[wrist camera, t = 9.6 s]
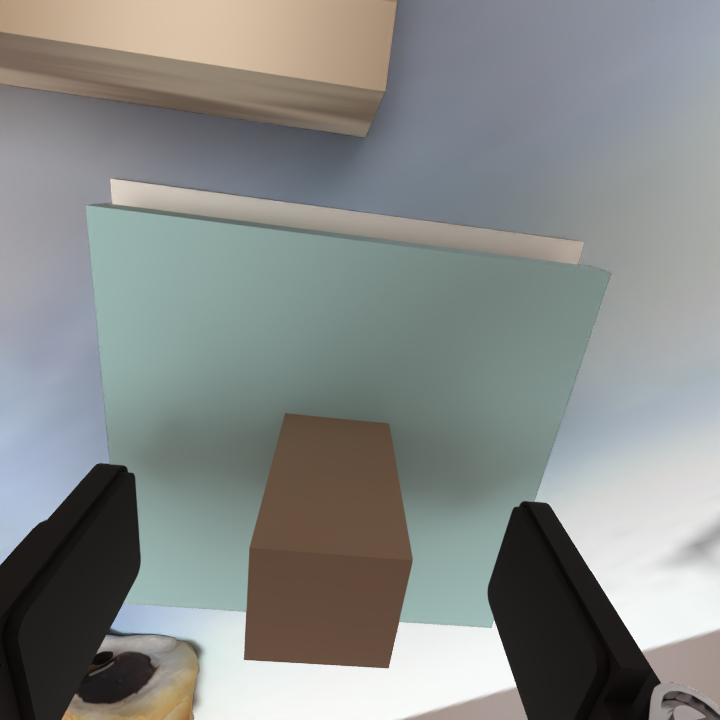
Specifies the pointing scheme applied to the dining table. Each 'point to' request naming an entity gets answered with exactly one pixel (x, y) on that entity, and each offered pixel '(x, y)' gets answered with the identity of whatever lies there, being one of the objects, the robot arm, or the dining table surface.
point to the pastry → (137, 680)
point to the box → (209, 56)
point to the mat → (342, 221)
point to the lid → (327, 419)
